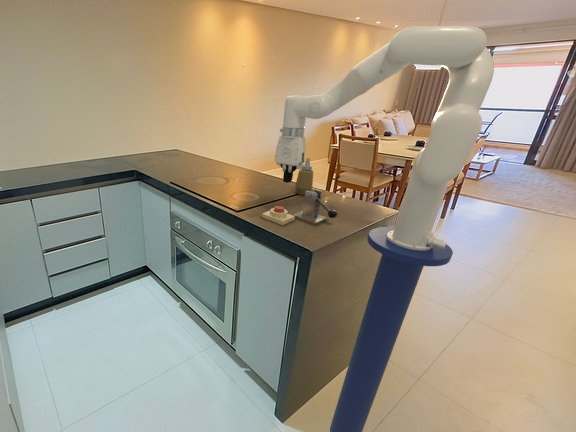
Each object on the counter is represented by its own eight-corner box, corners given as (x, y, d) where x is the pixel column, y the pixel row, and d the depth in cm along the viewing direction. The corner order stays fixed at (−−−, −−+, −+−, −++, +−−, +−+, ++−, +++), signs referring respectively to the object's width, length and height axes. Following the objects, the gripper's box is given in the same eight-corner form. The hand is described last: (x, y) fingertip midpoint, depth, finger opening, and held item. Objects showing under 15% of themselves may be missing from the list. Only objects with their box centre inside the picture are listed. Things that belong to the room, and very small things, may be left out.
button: (285, 211, 117) (285, 207, 117) (279, 214, 115) (280, 209, 115) (277, 209, 120) (278, 205, 119) (272, 211, 118) (272, 207, 117)
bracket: (326, 220, 118) (331, 192, 113) (315, 225, 113) (321, 196, 108) (303, 212, 125) (308, 186, 120) (292, 217, 120) (297, 189, 116)
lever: (334, 218, 112) (340, 213, 110) (330, 220, 110) (336, 215, 108) (310, 194, 118) (315, 189, 115) (306, 196, 116) (311, 190, 114)
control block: (294, 220, 118) (295, 212, 116) (282, 225, 113) (283, 217, 112) (273, 212, 125) (274, 204, 123) (261, 217, 120) (262, 209, 119)
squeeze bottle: (290, 192, 150) (295, 157, 142) (303, 190, 153) (308, 155, 145) (301, 197, 143) (308, 160, 136) (314, 195, 146) (321, 159, 139)
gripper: (269, 131, 109) (265, 179, 116) (306, 135, 98) (299, 188, 105) (281, 130, 113) (276, 176, 120) (318, 133, 103) (310, 184, 110)
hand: (287, 181), depth 113 cm, fingers closed
